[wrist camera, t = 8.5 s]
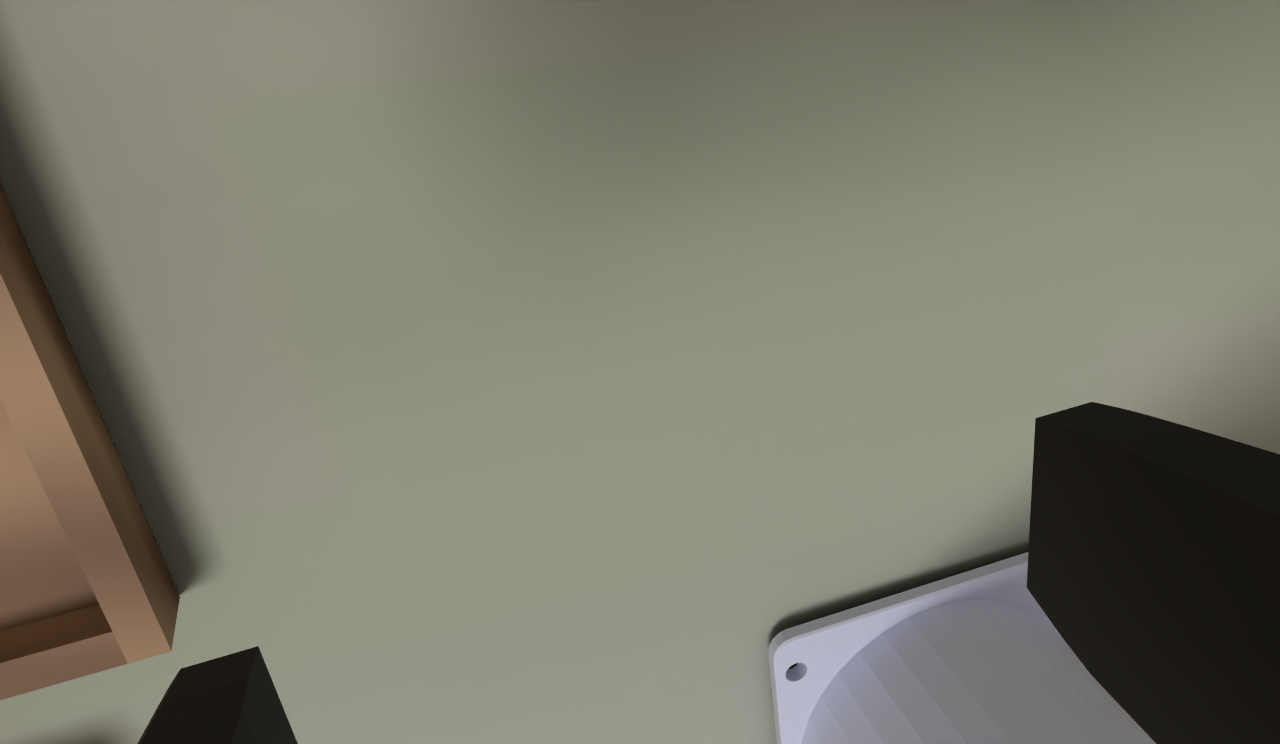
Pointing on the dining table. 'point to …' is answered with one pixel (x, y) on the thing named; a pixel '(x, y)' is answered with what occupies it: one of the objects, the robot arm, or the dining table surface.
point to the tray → (64, 506)
